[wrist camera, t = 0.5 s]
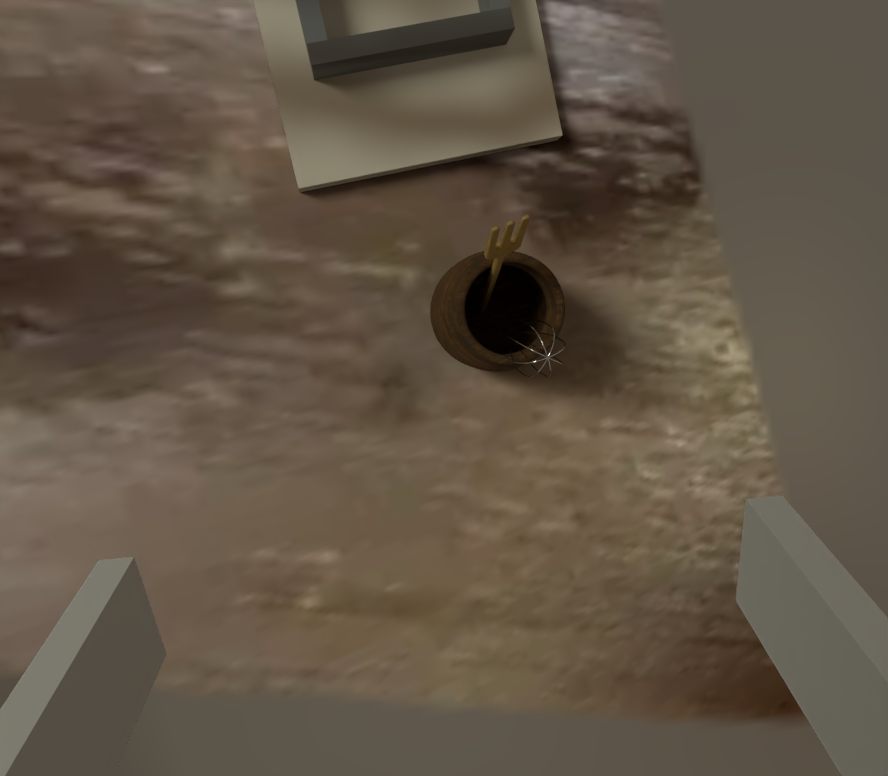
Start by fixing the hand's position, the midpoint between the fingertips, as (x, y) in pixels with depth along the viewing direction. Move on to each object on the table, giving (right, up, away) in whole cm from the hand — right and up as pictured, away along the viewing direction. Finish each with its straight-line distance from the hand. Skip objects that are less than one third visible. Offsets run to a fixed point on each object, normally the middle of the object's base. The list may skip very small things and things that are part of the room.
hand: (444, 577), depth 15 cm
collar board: (-3, +26, +21) cm, 33 cm away
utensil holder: (+2, +8, +23) cm, 25 cm away
